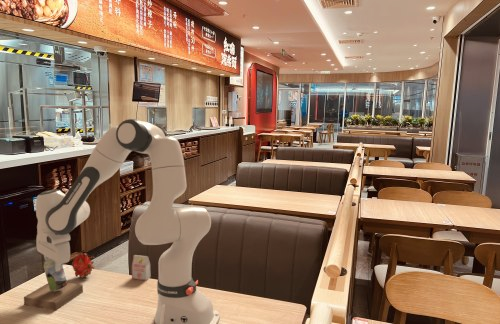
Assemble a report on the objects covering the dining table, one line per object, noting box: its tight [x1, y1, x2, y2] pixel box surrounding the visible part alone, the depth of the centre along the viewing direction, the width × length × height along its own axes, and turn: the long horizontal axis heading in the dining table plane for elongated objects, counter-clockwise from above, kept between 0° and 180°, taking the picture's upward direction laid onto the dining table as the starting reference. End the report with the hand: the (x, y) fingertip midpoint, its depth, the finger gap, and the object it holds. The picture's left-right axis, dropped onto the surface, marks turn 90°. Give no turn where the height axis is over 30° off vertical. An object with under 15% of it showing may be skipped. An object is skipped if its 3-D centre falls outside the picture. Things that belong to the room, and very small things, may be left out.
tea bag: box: [131, 254, 152, 282], centre depth 158 cm, size 4×7×10 cm, turn 76°
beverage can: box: [43, 259, 68, 291], centre depth 138 cm, size 6×7×12 cm
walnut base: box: [23, 282, 84, 311], centre depth 140 cm, size 14×14×4 cm
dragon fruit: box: [71, 249, 95, 279], centre depth 157 cm, size 8×8×12 cm
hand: (53, 268), depth 139 cm, fingers closed on beverage can, 5 cm apart
